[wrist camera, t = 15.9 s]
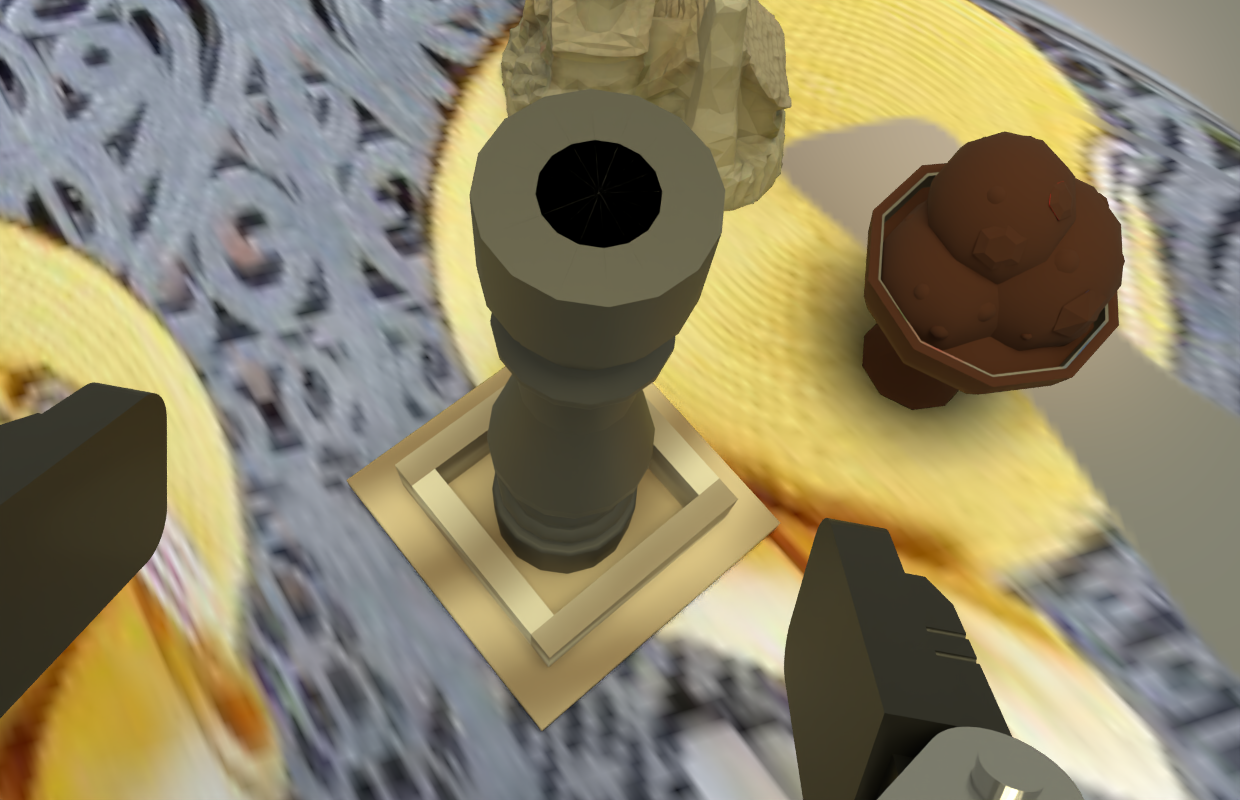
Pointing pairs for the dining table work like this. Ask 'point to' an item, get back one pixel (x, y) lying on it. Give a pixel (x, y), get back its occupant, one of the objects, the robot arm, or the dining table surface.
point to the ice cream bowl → (989, 275)
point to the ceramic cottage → (667, 72)
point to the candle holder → (585, 306)
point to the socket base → (549, 601)
